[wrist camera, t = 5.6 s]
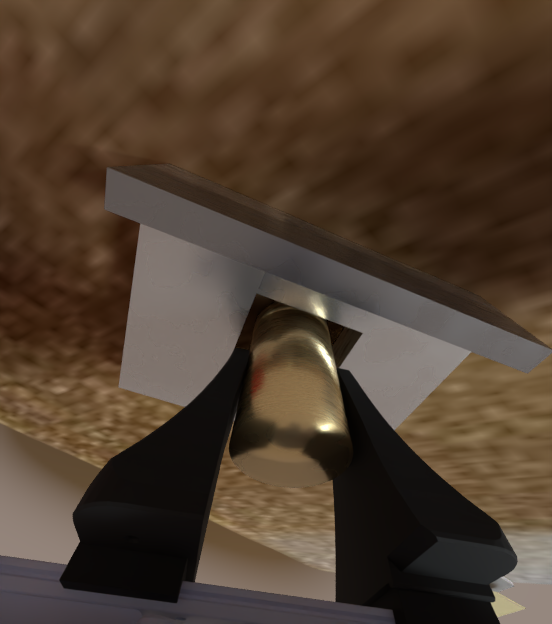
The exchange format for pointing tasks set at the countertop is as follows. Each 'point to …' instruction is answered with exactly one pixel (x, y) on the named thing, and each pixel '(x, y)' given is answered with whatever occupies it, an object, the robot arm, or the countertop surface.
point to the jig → (286, 295)
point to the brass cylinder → (291, 403)
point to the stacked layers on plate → (503, 598)
